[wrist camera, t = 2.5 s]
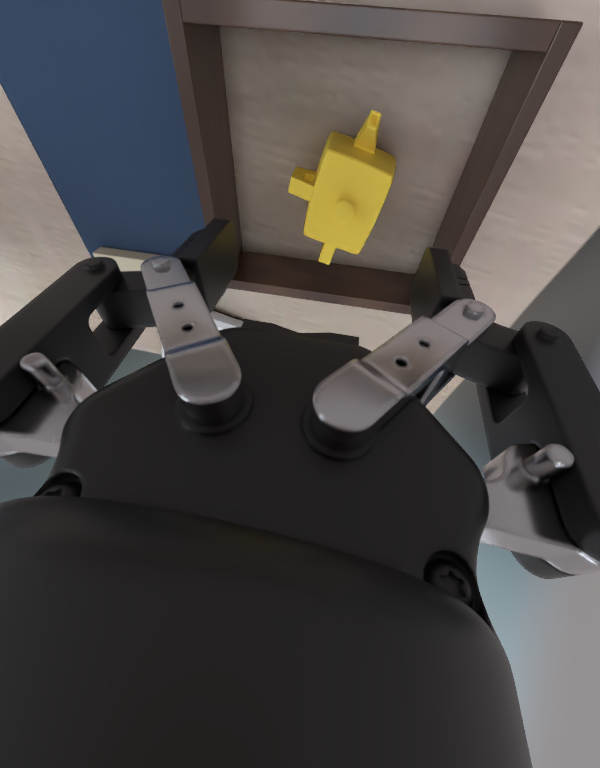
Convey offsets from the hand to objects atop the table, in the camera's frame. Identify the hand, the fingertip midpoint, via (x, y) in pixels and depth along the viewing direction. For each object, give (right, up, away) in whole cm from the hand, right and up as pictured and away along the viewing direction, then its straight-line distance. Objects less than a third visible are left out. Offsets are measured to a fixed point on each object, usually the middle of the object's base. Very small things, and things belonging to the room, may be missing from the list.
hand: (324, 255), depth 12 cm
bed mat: (-14, +11, +8) cm, 19 cm away
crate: (+2, +8, +7) cm, 11 cm away
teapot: (+2, +9, +7) cm, 11 cm away
